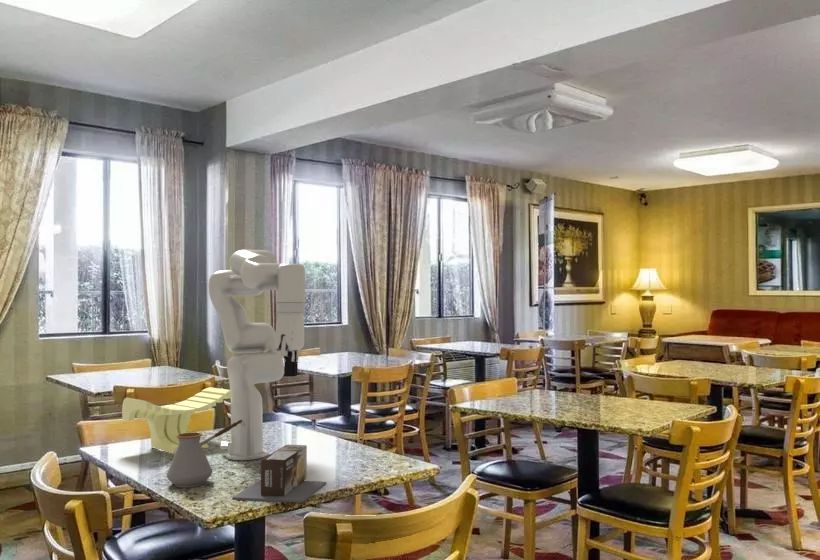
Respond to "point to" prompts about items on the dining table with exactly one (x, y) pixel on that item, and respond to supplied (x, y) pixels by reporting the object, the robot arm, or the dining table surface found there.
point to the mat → (296, 495)
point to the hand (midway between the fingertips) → (290, 375)
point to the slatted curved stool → (171, 416)
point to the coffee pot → (192, 459)
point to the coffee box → (283, 470)
